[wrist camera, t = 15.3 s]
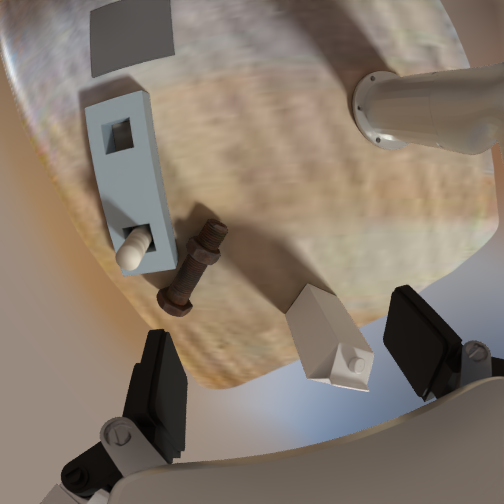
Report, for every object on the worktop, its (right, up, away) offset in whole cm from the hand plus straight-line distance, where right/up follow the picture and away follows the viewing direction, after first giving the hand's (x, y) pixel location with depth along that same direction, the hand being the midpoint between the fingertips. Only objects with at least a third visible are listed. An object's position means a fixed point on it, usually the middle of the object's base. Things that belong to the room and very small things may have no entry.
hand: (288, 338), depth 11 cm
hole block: (-18, +13, +25) cm, 34 cm away
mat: (-18, +34, +16) cm, 42 cm away
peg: (-17, +7, +28) cm, 34 cm away
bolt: (-10, +2, +32) cm, 33 cm away
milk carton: (+9, -6, +37) cm, 39 cm away
